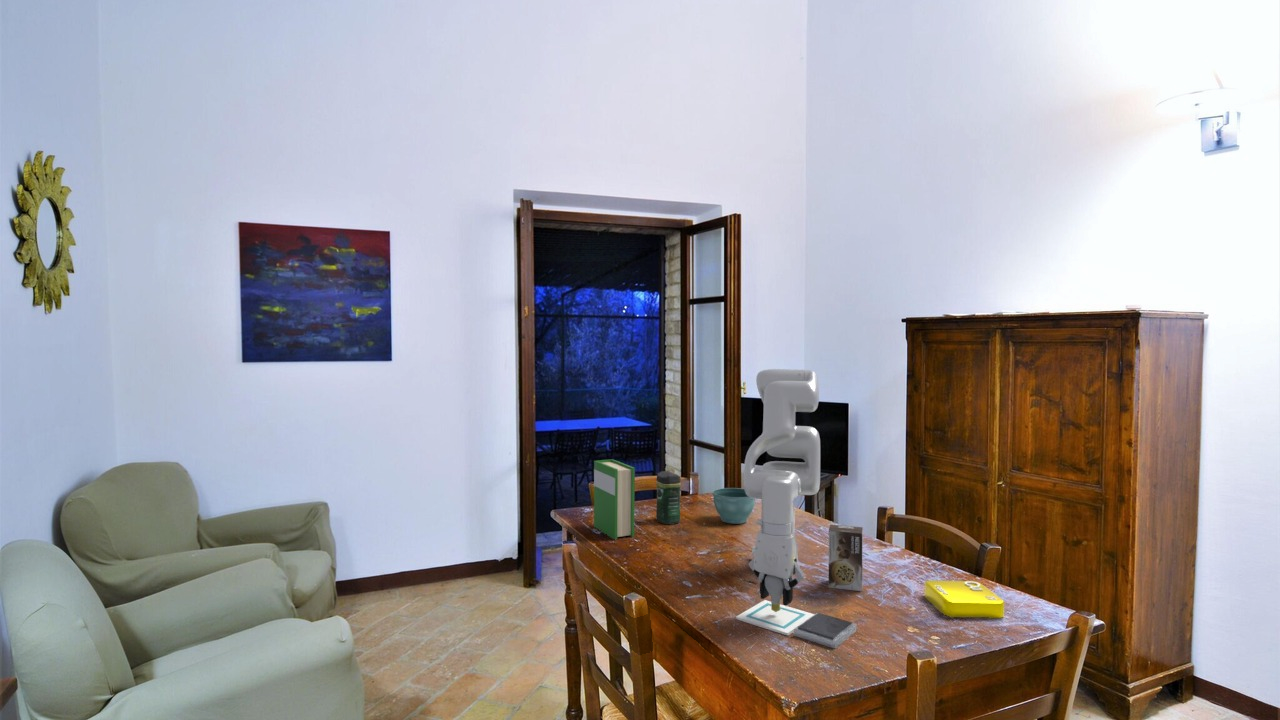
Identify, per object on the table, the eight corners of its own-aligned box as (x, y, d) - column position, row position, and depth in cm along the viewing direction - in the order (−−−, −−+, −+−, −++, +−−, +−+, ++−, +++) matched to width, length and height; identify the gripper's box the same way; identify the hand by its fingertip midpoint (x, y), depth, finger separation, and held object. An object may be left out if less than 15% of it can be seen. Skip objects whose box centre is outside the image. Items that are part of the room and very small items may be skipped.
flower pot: (713, 514, 262) (713, 486, 262) (755, 516, 260) (755, 488, 259) (711, 525, 246) (711, 496, 246) (756, 527, 244) (756, 498, 243)
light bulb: (761, 607, 168) (762, 568, 168) (783, 606, 169) (783, 567, 168) (767, 616, 163) (768, 576, 162) (789, 616, 163) (790, 575, 163)
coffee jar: (683, 523, 249) (684, 473, 248) (664, 526, 246) (664, 475, 245) (672, 517, 258) (672, 468, 257) (653, 519, 254) (653, 470, 254)
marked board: (735, 619, 165) (736, 616, 165) (764, 602, 175) (764, 599, 175) (787, 635, 156) (787, 632, 156) (814, 616, 166) (815, 614, 166)
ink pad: (793, 635, 156) (793, 627, 156) (816, 619, 165) (817, 611, 165) (834, 648, 149) (835, 639, 149) (856, 630, 158) (856, 622, 158)
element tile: (921, 595, 182) (922, 578, 181) (978, 596, 181) (978, 579, 181) (946, 619, 167) (946, 600, 166) (1007, 620, 166) (1007, 600, 166)
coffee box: (862, 583, 189) (863, 526, 188) (862, 592, 183) (863, 533, 182) (828, 579, 192) (829, 523, 191) (827, 587, 186) (828, 529, 185)
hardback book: (634, 537, 232) (634, 467, 231) (614, 539, 228) (615, 469, 228) (612, 524, 247) (612, 459, 247) (593, 526, 244) (594, 460, 243)
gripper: (738, 524, 168) (737, 596, 168) (801, 538, 156) (800, 615, 157) (754, 518, 173) (753, 587, 174) (816, 531, 162) (815, 605, 163)
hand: (775, 599), depth 166 cm, fingers closed on light bulb, 5 cm apart
